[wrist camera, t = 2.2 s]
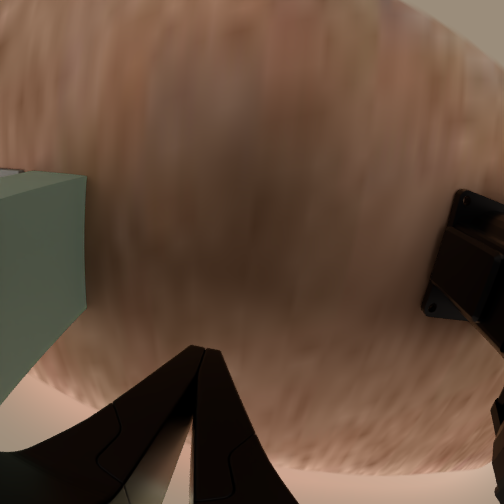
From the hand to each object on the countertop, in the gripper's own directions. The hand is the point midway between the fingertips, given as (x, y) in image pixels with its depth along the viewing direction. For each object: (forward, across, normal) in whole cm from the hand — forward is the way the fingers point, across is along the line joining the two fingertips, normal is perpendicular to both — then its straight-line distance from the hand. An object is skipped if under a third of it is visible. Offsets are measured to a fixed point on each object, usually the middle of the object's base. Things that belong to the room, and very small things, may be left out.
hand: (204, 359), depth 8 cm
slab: (+6, +9, 0) cm, 11 cm away
